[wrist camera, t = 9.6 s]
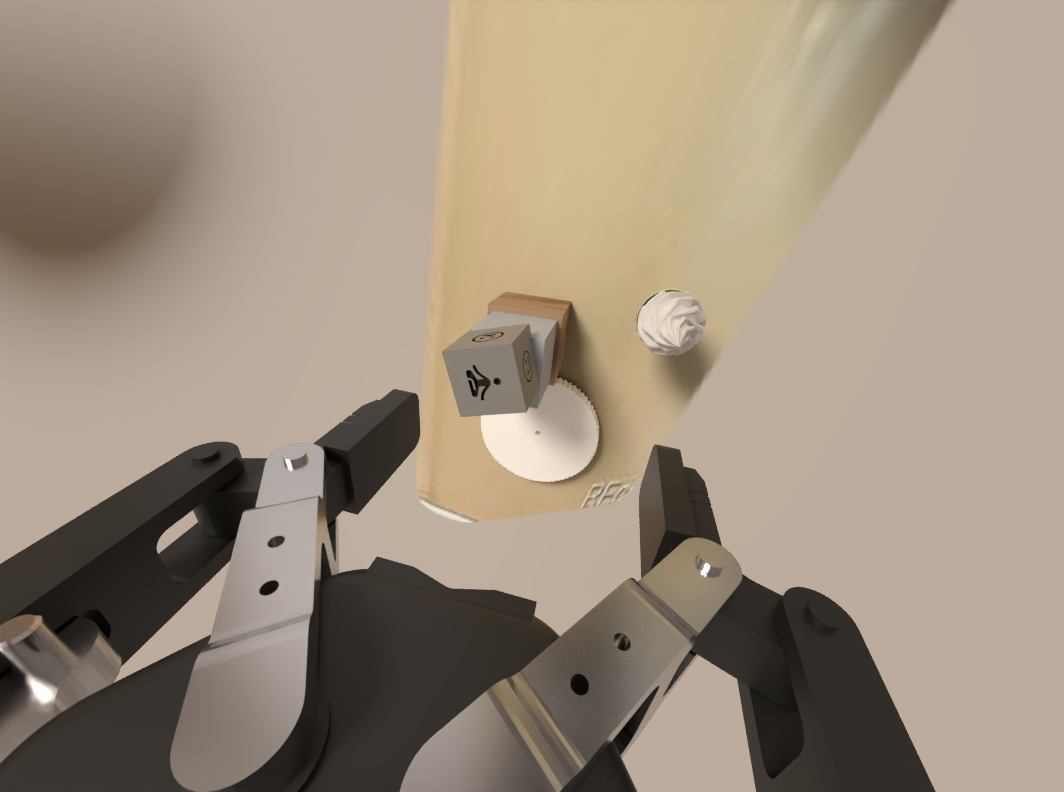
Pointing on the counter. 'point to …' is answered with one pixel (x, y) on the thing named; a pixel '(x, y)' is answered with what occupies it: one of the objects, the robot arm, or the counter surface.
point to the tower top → (541, 339)
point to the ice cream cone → (670, 322)
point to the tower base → (542, 310)
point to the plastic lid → (545, 435)
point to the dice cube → (493, 371)
